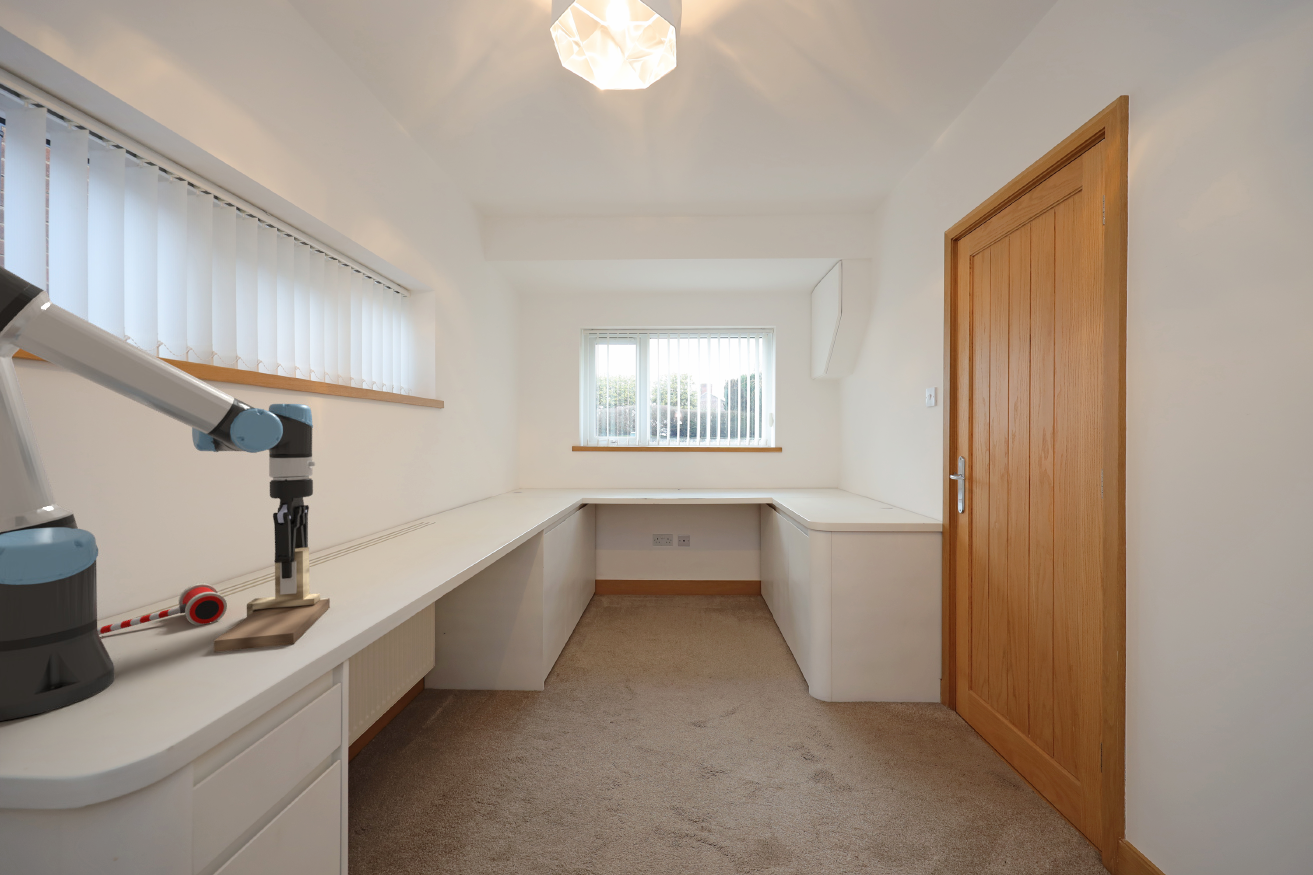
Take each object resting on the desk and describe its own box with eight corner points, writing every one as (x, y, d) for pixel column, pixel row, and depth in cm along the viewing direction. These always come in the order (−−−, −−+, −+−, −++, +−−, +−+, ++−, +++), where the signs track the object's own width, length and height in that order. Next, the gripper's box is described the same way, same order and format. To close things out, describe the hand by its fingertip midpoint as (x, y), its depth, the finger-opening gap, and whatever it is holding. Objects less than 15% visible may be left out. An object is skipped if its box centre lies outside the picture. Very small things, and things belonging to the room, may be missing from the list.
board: (214, 652, 95) (213, 639, 95) (265, 612, 116) (265, 603, 116) (293, 644, 98) (293, 632, 98) (329, 607, 119) (329, 597, 119)
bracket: (246, 619, 111) (246, 554, 111) (255, 613, 115) (254, 550, 114) (314, 613, 114) (313, 550, 114) (320, 607, 118) (319, 546, 118)
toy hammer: (62, 655, 95) (61, 618, 95) (63, 638, 103) (62, 604, 103) (227, 621, 112) (227, 590, 112) (217, 609, 120) (216, 580, 120)
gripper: (297, 480, 107) (299, 600, 108) (324, 474, 124) (325, 578, 124) (253, 481, 105) (254, 603, 105) (286, 475, 122) (287, 581, 122)
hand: (292, 590), depth 115 cm, fingers closed on bracket, 4 cm apart
